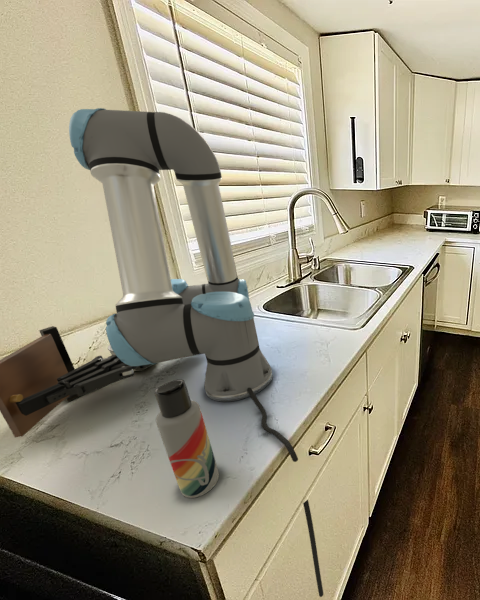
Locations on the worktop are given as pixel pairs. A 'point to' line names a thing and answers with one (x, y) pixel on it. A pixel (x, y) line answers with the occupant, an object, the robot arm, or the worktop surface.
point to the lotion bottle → (185, 439)
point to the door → (29, 381)
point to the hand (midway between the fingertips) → (20, 409)
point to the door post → (62, 351)
